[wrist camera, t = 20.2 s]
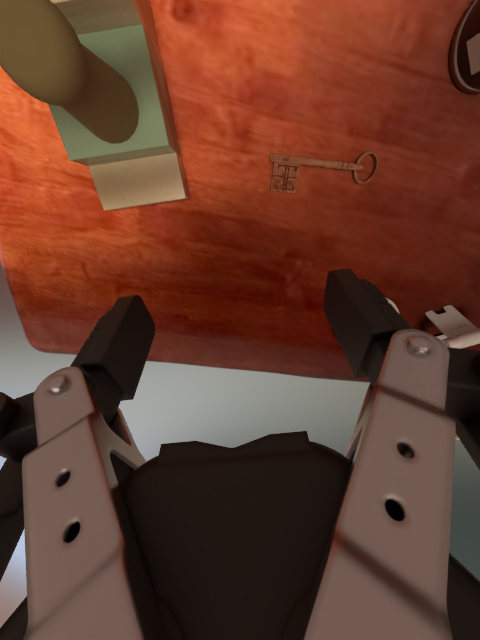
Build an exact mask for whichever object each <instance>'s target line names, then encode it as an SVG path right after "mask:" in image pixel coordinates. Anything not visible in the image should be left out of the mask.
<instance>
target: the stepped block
mask: <svg viewBox="0 0 480 640" xmlns="http://www.w3.org/2000/svg"><path fill="white" fill-rule="evenodd" d="M50 1H51V2H53V3H54V4H55V5H56V6H57V7H58V8H59V10H60V11H61V12H62V13H63V15H64V16H65V17H66V19H67V20H68V21H69V23H70V24H71V25H72V27H73V28H74V30H75V32H76V34H77V36H78V39H79V41H80V43H81V44H83V45H84V46H85V47H86V48H88V49H89V50H90V51H91V52H93V53H94V54H95V55H96V56H98V57H99V58H100V59H102V60H103V61H104V62H105V63H107V64H108V65H109V66H110V67H112V68H113V69H114V70H116V71H117V72H118V73H119V74H120V75H122V76H123V77H124V78H125V79H126V81H127V82H128V83H129V85H130V86H131V88H132V90H133V92H134V94H135V97H136V99H137V103H138V109H139V119H138V125H137V128H136V130H135V133H134V134H133V135H132V136H131V137H130V138H129V140H127V141H125V142H122V143H116V144H111V143H108V142H105V141H103V140H101V139H100V138H98V137H97V136H95V135H94V134H93V133H92V132H90V131H89V130H88V129H87V128H86V127H84V126H83V125H82V124H81V123H80V122H79V121H77V120H76V119H75V118H74V117H73V116H72V115H70V114H69V113H68V112H67V111H66V110H65V109H63V108H62V107H61V106H57V105H51V104H49V107H50V110H51V112H52V115H53V117H54V120H55V123H56V125H57V128H58V130H59V133H60V136H61V138H62V141H63V143H64V146H65V149H66V151H67V154H68V156H69V159H70V161H74V162H77V163H81V164H84V165H87V166H88V167H89V170H90V173H91V176H92V179H93V181H94V184H95V187H96V190H97V193H98V195H99V198H100V201H101V204H102V207H103V209H104V211H107V210H121V209H127V208H134V207H141V206H148V205H154V204H161V203H168V202H174V201H181V200H188V199H190V197H189V192H188V187H187V183H186V178H185V173H184V168H183V163H182V158H181V153H180V148H179V143H178V138H177V133H176V129H175V124H174V119H173V114H172V109H171V104H170V99H169V94H168V89H167V84H166V79H165V75H164V70H163V66H162V60H161V55H160V50H159V45H158V40H157V35H156V30H155V25H154V21H153V16H152V11H151V6H150V2H149V0H50Z"/></svg>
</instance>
